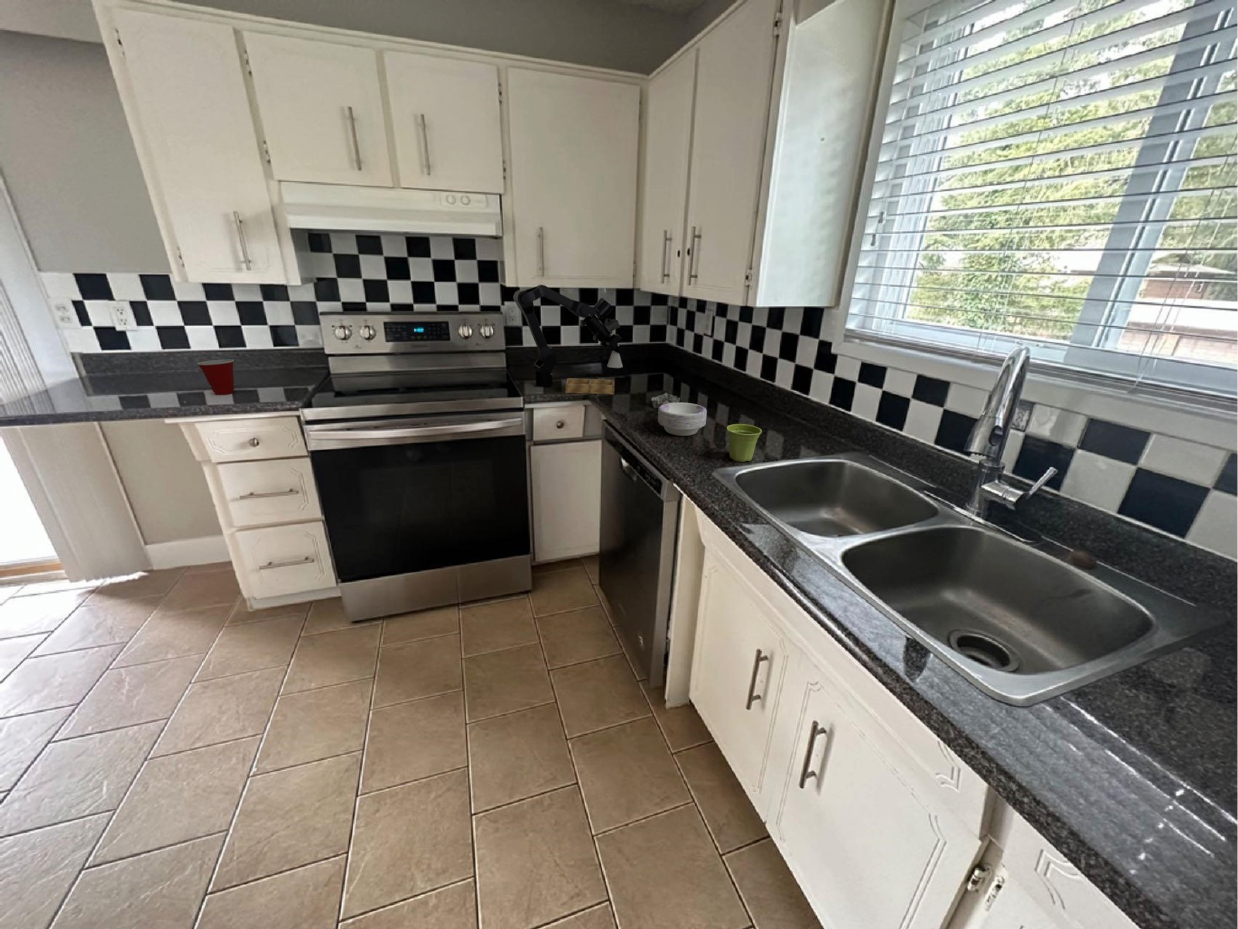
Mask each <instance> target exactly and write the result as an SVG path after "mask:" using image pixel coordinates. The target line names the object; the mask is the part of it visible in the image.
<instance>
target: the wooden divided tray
mask: <svg viewBox="0 0 1238 929" xmlns="http://www.w3.org/2000/svg"><path fill="white" fill-rule="evenodd" d="M564 388H565V394H590V395H592V394H593V395H615V379H603V378H602V379H601V378H600V379H599V378H570V377H569V378H567V379H566V381H565V384H564Z"/></svg>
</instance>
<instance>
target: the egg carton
mask: <svg viewBox="0 0 1238 929" xmlns="http://www.w3.org/2000/svg"><path fill="white" fill-rule="evenodd" d="M680 400H681V397H678V396H677V395H673V394H669V393H667V392H664V393H663V394H661V395H660V394H659V395H657V396H653V397H651V401H652V407H653V408H654V409H656V408H657V409H659V407H660V406H661V405H663V404H667V403H679V402H680Z"/></svg>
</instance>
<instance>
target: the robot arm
mask: <svg viewBox="0 0 1238 929" xmlns="http://www.w3.org/2000/svg"><path fill="white" fill-rule="evenodd" d="M543 297H544V298H546V299H548V300H550V301H552V302H554V303H556V304H558V305H560V306H562V307H564V308H565V309H567V310H568V311H569V312H571V313H572V314H573V315H575V316H576V317H580V318H583V319H579V327H581V328H585V326H586V328H588V329H589V331H590V332H591V334H592V335H593V336H592V340H593V342H594V343H596V344H599V345H600V346H602V347H604V348H606V349H608V350H611V351H612V350H613V351H615V352H617V353H619V354H621V353H622V351H621V348H620V345H619V346H618V344H620V342H621V340H622V337H621V335H620V334H617V333H613V331H615V330H617V329H620V328H621V325H620V322H619V320H618V319H615V318H613V319H611V318H609V317H608V318H607V316H608V315H609V314H610V313H611V312H612V311H613V310H614V308H613V306H612V304H611V303H609V302H608V301H607V300H606V299H605V298H604V297H600V298H599V299H598V301H597V302H596V303H595V304H594V305H593V306H592V305H589V304H588V303H585V302H582V301H578V300H574V299H571V298H569V297H567V296H565V295H564V294H562V293H559V292H557V291H556V290H553V289H552V288H549V287H548V286H547V285H545V284H538V285H535V286H534V287H533V286H532V287H530V288H527V289H525V290H524V289H517V290H516V291H515V292H514V294H513V296H512V298H513V301H514V303H515V304H516V306H517V308H518V309H519V310H520V312H521V313H522V315H523V316H524V318H525V322H526V324H527V326H528V328H529V331H530V333H531V336H532V338H533V341H534V343H535V345H536V349H537V351H536V352H537V357H538V359H537V360H536V361H535V362H534V363H533V367H534V369H536V370H535V385H534V387H546V388H547V387H548V388H551V387H552V385H553V384H554V374H553V373H552V372H553V370H554V367H555V366H556V364H557V362H558V359H557V358H558V355H557V354H556V351H555V348H554V347H553V346H551V345H548V343H547V340H546V339H545V335H544V333H543V331H542V328H541V325H540V323H539V320H538V318H537V315H536V313H535V305H534V301H536V300H539V299H540V298H543ZM601 319H604V323H603V322H602V321H601ZM599 342H600V343H599Z"/></svg>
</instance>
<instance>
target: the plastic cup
mask: <svg viewBox="0 0 1238 929" xmlns="http://www.w3.org/2000/svg"><path fill="white" fill-rule="evenodd" d="M234 362H235V359H233V358H228V359H227V358H226V359H225V358H224V359H223V358H222V359H212V360H205V361H199V362H196V365H198V367H199V368H200V369H201V371H202V373H203V375H204V377H205V379H206V380H207V382H208V385H209V386H210V388H211V390H212V392H213V393H214V395H216V396H224V395H230V394H233V393H235V377H234Z"/></svg>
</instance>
